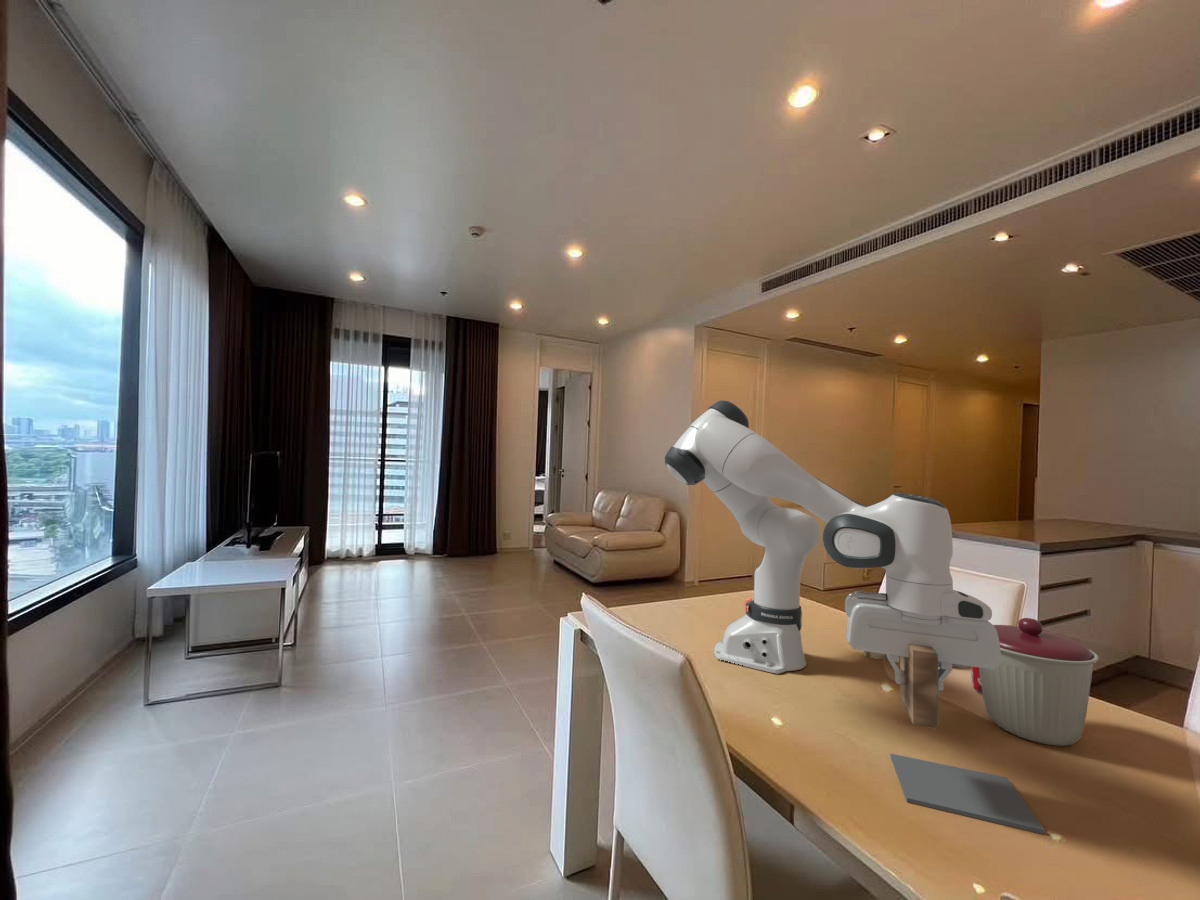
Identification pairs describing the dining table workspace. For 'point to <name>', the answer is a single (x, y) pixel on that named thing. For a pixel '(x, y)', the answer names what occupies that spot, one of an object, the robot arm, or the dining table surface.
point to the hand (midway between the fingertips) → (918, 686)
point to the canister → (1039, 684)
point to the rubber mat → (964, 793)
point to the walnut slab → (921, 686)
